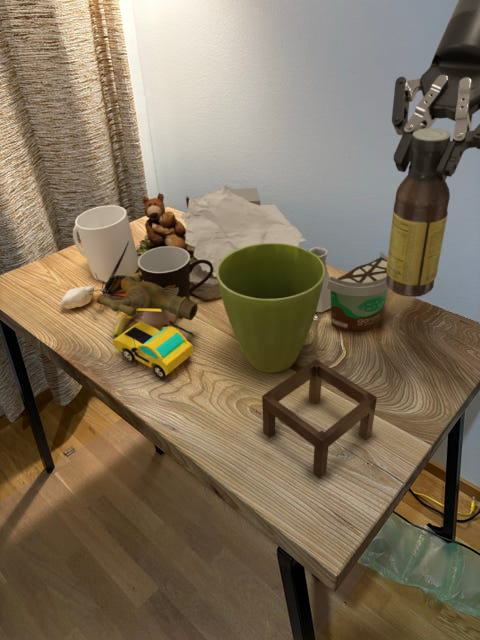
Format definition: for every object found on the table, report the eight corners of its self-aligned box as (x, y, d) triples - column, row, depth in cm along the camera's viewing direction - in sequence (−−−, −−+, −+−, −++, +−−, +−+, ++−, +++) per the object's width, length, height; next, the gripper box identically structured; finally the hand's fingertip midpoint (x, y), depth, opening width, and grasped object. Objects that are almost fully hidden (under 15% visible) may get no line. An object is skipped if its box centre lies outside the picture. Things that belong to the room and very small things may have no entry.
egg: (157, 314, 93) (134, 333, 88) (157, 288, 90) (134, 306, 85) (182, 323, 92) (161, 343, 86) (184, 297, 89) (161, 316, 84)
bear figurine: (133, 278, 103) (122, 221, 95) (139, 241, 115) (129, 187, 107) (204, 272, 103) (199, 215, 96) (202, 236, 115) (197, 182, 108)
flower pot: (215, 335, 88) (207, 250, 78) (302, 320, 90) (305, 235, 80) (234, 399, 76) (227, 308, 66) (333, 380, 78) (341, 289, 69)
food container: (352, 347, 84) (357, 294, 78) (324, 328, 88) (327, 277, 82) (404, 317, 89) (413, 266, 83) (376, 301, 93) (383, 251, 87)
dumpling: (75, 319, 93) (64, 302, 91) (61, 313, 97) (50, 296, 95) (106, 296, 96) (95, 278, 94) (91, 290, 100) (81, 273, 98)
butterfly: (69, 276, 89) (119, 259, 86) (88, 247, 97) (135, 230, 93) (107, 330, 95) (155, 316, 92) (122, 299, 103) (167, 285, 100)
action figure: (211, 293, 86) (163, 311, 72) (205, 317, 87) (157, 339, 73) (135, 265, 90) (76, 277, 77) (131, 289, 91) (72, 305, 78)
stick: (194, 324, 88) (195, 336, 88) (192, 324, 88) (193, 336, 88) (170, 320, 83) (170, 332, 83) (167, 320, 83) (168, 333, 83)
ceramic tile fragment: (210, 308, 93) (245, 284, 100) (208, 292, 91) (245, 269, 98) (162, 289, 100) (198, 267, 106) (159, 273, 98) (196, 252, 104)
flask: (287, 305, 94) (287, 255, 88) (308, 285, 98) (309, 237, 92) (324, 318, 90) (327, 267, 84) (343, 297, 95) (348, 247, 89)
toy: (263, 212, 102) (255, 181, 114) (223, 215, 101) (219, 184, 113) (264, 256, 108) (257, 222, 119) (227, 259, 107) (223, 225, 119)
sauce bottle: (426, 271, 72) (456, 122, 60) (439, 298, 68) (475, 141, 55) (378, 273, 73) (398, 124, 60) (388, 300, 68) (412, 144, 55)
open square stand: (371, 435, 70) (377, 397, 65) (319, 479, 65) (322, 441, 60) (314, 395, 76) (316, 358, 72) (263, 433, 71) (261, 395, 67)
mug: (135, 282, 101) (120, 227, 94) (73, 286, 102) (54, 232, 95) (144, 256, 109) (131, 203, 101) (87, 260, 110) (70, 208, 103)
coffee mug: (139, 320, 92) (129, 270, 86) (157, 292, 98) (149, 244, 92) (204, 327, 89) (198, 276, 83) (217, 298, 96) (213, 249, 90)
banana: (126, 303, 93) (147, 304, 92) (128, 310, 95) (149, 312, 93) (105, 332, 87) (127, 334, 86) (108, 340, 88) (129, 342, 87)
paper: (169, 185, 99) (188, 287, 95) (180, 169, 93) (200, 276, 90) (279, 188, 109) (300, 280, 106) (294, 174, 104) (316, 270, 100)
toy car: (199, 358, 83) (194, 315, 78) (164, 387, 78) (156, 343, 73) (145, 331, 89) (136, 290, 84) (110, 356, 84) (99, 314, 79)
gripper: (414, 4, 60) (352, 145, 60) (552, 10, 52) (482, 170, 52) (426, 48, 66) (370, 175, 66) (550, 58, 59) (487, 201, 59)
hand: (420, 172), depth 59 cm, fingers closed on sauce bottle, 4 cm apart
